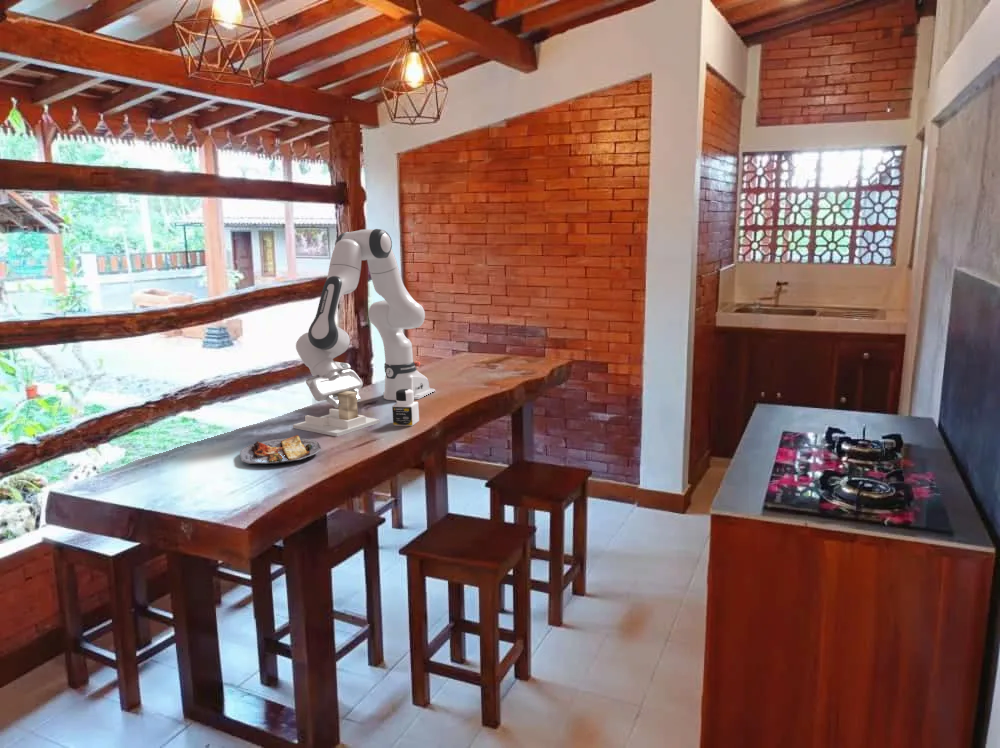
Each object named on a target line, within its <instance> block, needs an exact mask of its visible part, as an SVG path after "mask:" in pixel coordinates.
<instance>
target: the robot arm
mask: <svg viewBox="0 0 1000 748" xmlns="http://www.w3.org/2000/svg"><path fill="white" fill-rule="evenodd" d="M392 247H393V242H392V237H391V236H390V234H389V233H388V232H387V231H386V230H384V229H381V228H380V229H379V228H375V229H373V228H372V229H366V228H364V229H359V230H355V231H353V230H352V231H346V232H343V233H340V234H339V235H338V236H337V238H336V240H335V244H334V248H333V251H332V253H331V257H330V261H329V267H328V273H327V276H326V280H325V281H324V284H323V288H322V291H321V294H320V299H319V304H318V307H317V310H316V314H315V316H314V319H313V321H312V322H311V323H310V326H309V327H308V332H306V333H303V334H302V335H301V336H300V337H299V338H298V339H297V341H296V343H295V349H296V352H297V354H298V356H299V358H300V359H301V361H302V362H303V364H304V365H305V366H306V367H307V368H308V369H309V371H310V373H311V375H312V376H309V377H307V379H305V384H306V385H307V387H308V389H309V391H310V393H311V394H312V397H313V398H314V400H315V401H317V402H323V401H326V402H327V403H329V404H331V405H332V406H333V407H334V409H339V408H338V407H340V406H341V404H340V402H339V401H338V400H336V399H335V398H338V395H337V394H338V393H341V392H345V391H351V392H356V395H357V403H358V402H361V400H362V398H361V396H360V394H359V391H360V390H361V389H362V388H363V386H364V385H363V383H364V382H363V380H362V379H361V377H359V375H358V373H356V371H354V370H353V369H351V368H352V367H351V365H350V364H349V363H348V362H339V361H336V360H334V359H335V358H337V357H339V356H341V355H343V354H344V353H346V351H347V350H348V349H349V348H350V346H351V345H350V344H351V337H350V335H349V334H348V332H347V331H346V330H345V329H343V328H341V327H339V326H338V325H337V323H336V315H337V311H338V307H339V303H340V300H341V297H342V296H344V295H349V294H351V293H352V292H354V291H356V289H357V287H358V285H359V283H360V277H361V271H362V261H367V262H366V263H367V265H368V266H367V267H368V271H369V274H370V278H371V281H372V285H373V288H374V291H375V292H376V293H377V294H378V295H379V296H381V297H382V298H383V299H384V300H379V301H376V302H373V303H372V304H371V305H370V306H369V309H368V313H367V316H368V319H369V321H370V323H371V324H372V325H373V326H374V327H375V328H376V329H377V331H378V333H379V336H380V338H381V341H382V343H383V348H384V349H383V350H384V361H385V363H384V373H385V376H384V391H383V396H382V397H383V399H384V400H387V401H396V392H397V391H398V390H401V389H410V390H412V391H413V394H414V400H420V399H422V398H424V396H425V397H427V396H429V395H431V394H433V393H432V392H434V391H435V392H436V389H435V388H433V387H432V388H431V387H430V383H429V379H428V378H427V376H425V375H424V374H422V373H421V372H419V370H418V369H417V367H420V366H421V362H420V361H414V354H413V343H412V342H411V340H410V339H409V338H408V337H406V335H405V334H404V332H403V330H411V329H412V330H413V329H417V328H420V327H421V326H422V325H423V324H424V322H425V318H426V311H425V309H424V307H423V306H422V304H420V303H418V302H417V301H416V300H415V299H414V298H413V297H412V295H411V294H410V293H409V291H408V290H407V288H406V286H405V284H404V282H403V278H402V276H401V273H400V272H401V271H400V270H399V265H398V262H397V259H396V256H395V253H394V251H393V249H392ZM435 392H434V393H435ZM430 393H431V394H430ZM428 394H429V395H428ZM426 395H427V396H426Z"/></svg>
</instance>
